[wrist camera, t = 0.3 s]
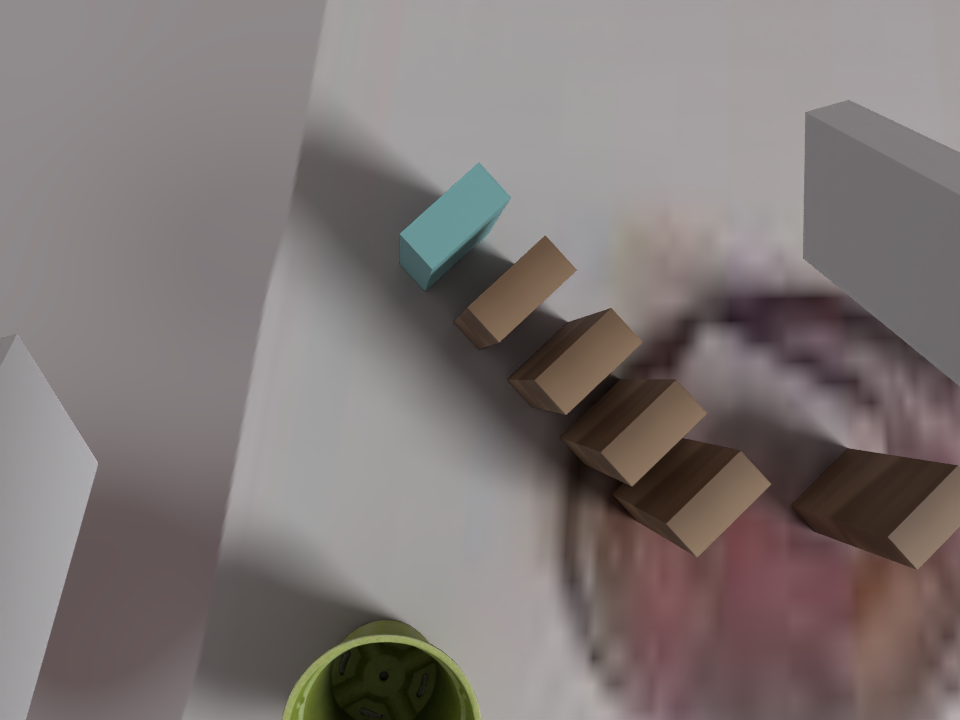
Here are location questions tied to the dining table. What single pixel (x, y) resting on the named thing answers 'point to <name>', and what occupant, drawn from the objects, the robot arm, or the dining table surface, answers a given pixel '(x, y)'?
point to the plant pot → (375, 649)
